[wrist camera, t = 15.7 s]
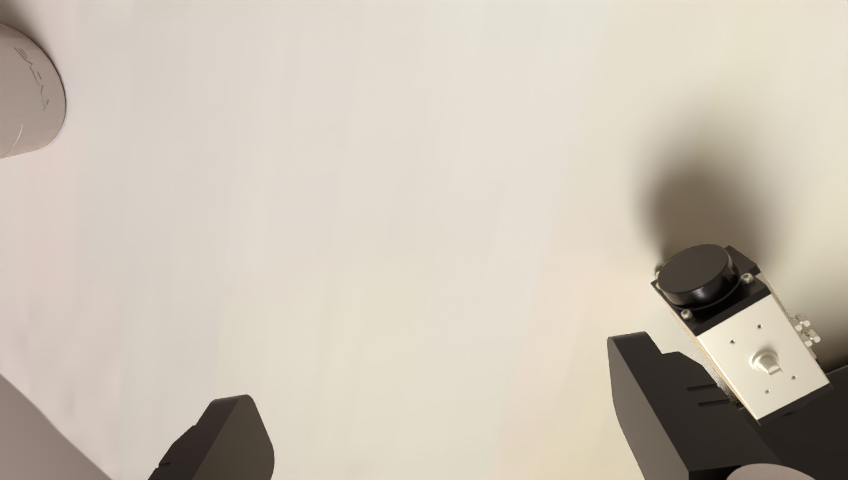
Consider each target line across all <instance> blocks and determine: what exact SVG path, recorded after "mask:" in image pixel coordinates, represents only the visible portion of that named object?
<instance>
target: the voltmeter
mask: <svg viewBox="0 0 848 480" xmlns="http://www.w3.org/2000/svg"><path fill="white" fill-rule="evenodd" d="M825 376H826V377H827V379H828V380H829V382H830V383H831V385H832V386H833V388H834V389H833V390H831V391H829V392H827V393H825V394H823V395H822V396H820V397H818V398H816V399H814V400H812V401H810V402H809V403H808V404H807V405H806V406H805V407H804V408H803V409H801V410H800V411H798V412H796V413H794V414H791V415H787V416H783V417H778V418H776V419H774V420H772V421H770V422H768V423H766V424H764V425H762V426H761V425H759V423H758V422H757V421H756V420H755V419H754V417H753V416H752V415H751V414H750V413H749V411H748V410H747V409H746V408H745V407H741V406H737V407H736V408H737V409H738V410H739V412H740V413H741V414H742V415H743V416H744V418H745V419H746V420H747V421H748V423H749V424H750V425H751V426H752V428H753V429H754V430H755V431H756V432H757V434H758V435H759V436H760V437H761V439H762V440H763V441H764V442H765V444H766V445H767V446H768V447H769V449H770V450H771V451H772V452H773V453H774V455H775V456H776V457H777V458H778V460H779V461H780V462H781V463H782V464H783V466H784V467H788V468H791V469H794V470H797V471H799V472H802V473H804V474H806V475H808V476H810V477H812V478H813V479H815V480H848V365H847V366H844V367H842V368H839V369H837V370H834V371H832V372H829V373H827V374H825Z"/></svg>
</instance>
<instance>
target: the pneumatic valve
mask: <svg viewBox="0 0 848 480" xmlns="http://www.w3.org/2000/svg"><path fill="white" fill-rule="evenodd" d="M655 276H656V278H655V280H654V281H653V282H651V285H652V286H653V287H654V289H655V290H656V291H657V293H658V294H659V296H660V297H661V298H662V300H663V301H664V302H665V304H666V305H667V306H668V308H669V309H670V310H671V312H672V313H673V315H674V316H675V317H676V319H677V320H678V321H679V323H680V324H681V325H682V327H683V328H684V330H685V331H686V332H687V334H688V335H689V336H690V338H691V339H692V340H693V342H694V343H695V345H696V346H697V347H698V349H699V350H700V351H701V353H702V354H703V355H704V357H705V358H706V359H707V361H708V362H709V364H710V365H711V366H712V368H713V369H714V370H715V371H716V373H717V374H718V375H719V376H720V377H721V379H722V380H723V381H724V382H725V383H726V385H727V386H728V387H729V388H730V390H731V391H732V392H733V393H734V394H735V396H736V397H737V398H738V399H739V400H740V402H741V403H742V404H743V405H744V406H745V408H746V409H747V410H748V411H749V413H750V414H751V415H752V416H753V417H754V419H755V420H756V421H757V422H758V423H759V425H761V426H762V425H764V424H766V423H768V422H770V421H772V420H774V419H776V418H778V417H783V416H787V415H791V414H794V413H796V412H798V411H800V410H801V409H803V408H804V407H805V406H806V405H807V404H808V403H809V402H810V401H812V400H814V399H816V398H818V397H820V396H822V395H823V394H825V393H827V392H829V391H831V390H833V389H834V388H833V386H832V385H831V383H830V382H829V380H828V379H827V377H826V376H825V374H824V373H823V371H822V369H821V368H820V366H819V365H820V364H821V363H820V362H819V360H818V359H817V357H816V355H815V354H814V352H813V351H812V349H811V348H810V346H811V345H812V344H813V343H812V342H811V340H812V341H813V342H815V343H817V342H819V341H820V340H821V339H820V337H819V336H818V335H817V334H816V333H815V332H814V331H813V330H812V329H808V330H806V331H805V333H806V334H807V336H806V335H805V334H803V333H802V334H801V332H800V330H802V326H803V327H808V326H809V325H810V322H809V320H808V319H807V318H806V317H805V316H804V315H803V314H801V313H800V314H797V315H796V316H795V317H796V319H797V320H796V319H794V318H791V317H790V315H789V314H788V312H787V311H786V309H785V308H784V306H783V305H782V303H781V301H780V300H779V298H778V297H777V295H776V294H775V292H774V291H773V289H772V288H771V286H770V285H769V283H768V281H767V280H766V278H765V277H764V275H763V274H762V272H761V271H760V269H759V268H758V266H757V264H755V263H754V262H753V261H751V260H750V259H748V258H747V257H745V256H744V255H743V254H741V253H740V252H738V251H737V250H736V249H734V248H733V247H731V246H727V247H726V248H722V247H720V246H717V245H711V244H706V245H699V246H694V247H691V248H688V249H686V250H684V251H682V252H680V253H678V254H676V255H675V256H673V257H672V258H671V259H669V260H668V261H667V262H665V264H664V265H663V266H662V268H661V270H660V271H657V272H656V275H655ZM801 325H802V326H801Z"/></svg>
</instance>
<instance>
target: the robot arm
mask: <svg viewBox="0 0 848 480" xmlns="http://www.w3.org/2000/svg"><path fill="white" fill-rule="evenodd" d="M64 117H65V98H64V91H63V87H62V85H61V82H60V79H59V76H58V74H57V72H56V70H55V69H54V67H53V65H52V63H51V62H50V60H49V59H48V58H47V56H46V55H45V54H44V53H43V51H42V50H41V49H40V48H39V47H38V46H37V45H36V44H35V43H34V42H33V41H31V40H30V39H29V38H28V37H26V36H25V35H23V34H22V33H20V32H19V31H17V30H15V29H13V28H11V27H9V26H6V25H4V24H1V23H0V159H1V158H5V157H9V156H13V155H17V154H21V153H25V152H29V151H33V150H37V149H39V148H41V147H43V146H45V145H47V144H48V143H49V142H50V141H52V140H53V139H54V138H55V137H56V135H57V133H58V132H59V130H60V129H61V126H62V123H63V120H64ZM607 348H608V358H609V367H610V377H611V387H612V396H613V403H614V407H615V411H616V415H617V418H618V421H619V424H620V426H621V429H622V431H623V433H624V435H625V437H626V439H627V442H628V444H629V446H630V448H631V450H632V452H633V454H634V457H635V459H636V461H637V463H638V465H639V467H640V469H641V472H642V474H643V476H644V478H645V480H815V479H813V478H812V477H810V476H808V475H806V474H804V473H802V472H799V471H797V470H794V469H791V468H788V467H784V466H783V464H782V463H781V462H780V461H779V460H778V458H777V457H776V456H775V455H774V453H773V452H772V451H771V450H770V449H769V447H768V446H767V445H766V444H765V442H764V441H763V440H762V439H761V437H760V436H759V435H758V434H757V432H756V431H755V430H754V429H753V428H752V426H751V425H750V424H749V423H748V421H747V420H746V419H745V418H744V416H743V415H742V414H741V413H740V412H739V410H738V409H737V408H736V407H735V405H734V404H733V403H730V400H729V398H728V397H727V396H726V394H725V393H724V392H723V391H722V389H721V388H720V387H718V386H717V383H716V382H715V381H714V380H713V378H712V377H711V376H710V375H709V373H708V372H707V371H706V370H705V368H704V367H703V366H702V365H701V364H699V363H697V362H696V361H694V360H692V359H691V358H689V357H687V356H686V355H684V354H682V353H680V352H679V351H678V352H672V353H665V354H662V353H661V352H660V350H659V349H658V347H657V346H656V345H655V343H654V342H653V340H652V339H651V338H650V336H649V335H648V334H647V333H646V332H645V331H644V332H638V333H631V334H625V335H619V336H613V337H608V340H607ZM273 470H274V450H273V446H272V443H271V441H270V439H269V436H268V434H267V431H266V429H265V427H264V424H263V422H262V419H261V417H260V415H259V412H258V410H257V407H256V405H255V403H254V401H253V399H252V398H251V397H250V396H249V395H240V396H233V397H227V398H221V399H215V400H213V401H212V402H211V403H210V404H209V406H208V407H207V409H206V410H205V412H204V413H203V415H202V416H201V418H200V419H199V421H198V422H197V424H196V425H194V426H192V427H191V428H189V429H188V430H187V431H186V432H185V433H184V434H183V435H182V436H181V437H180V438H179V439H177V440H176V441H175V442H174V443H173V444H172V445H171V447H170V448H169V450H168V451H167V453H166V454H165V455H164V457H163V458H162V460H161V461H160V463H159V467H158V468H156V469H155V470H154V471H153V473H152V474H151V476H150V477H149V479H148V480H270V479H271V477H272V474H273Z"/></svg>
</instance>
